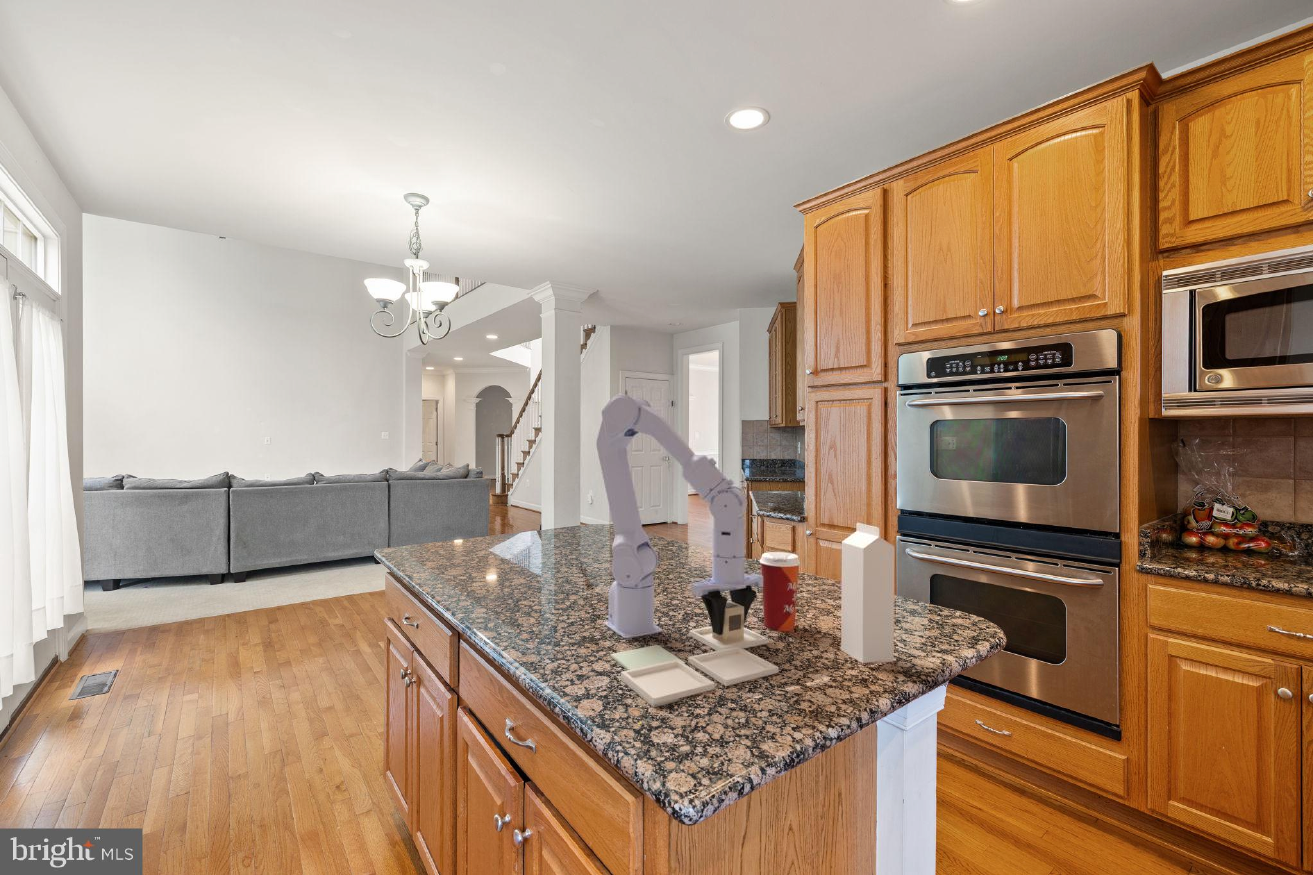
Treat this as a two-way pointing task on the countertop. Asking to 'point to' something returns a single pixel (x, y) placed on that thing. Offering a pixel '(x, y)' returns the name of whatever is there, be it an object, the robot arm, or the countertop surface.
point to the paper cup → (779, 589)
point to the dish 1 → (666, 682)
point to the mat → (643, 657)
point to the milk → (867, 596)
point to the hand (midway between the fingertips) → (727, 631)
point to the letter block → (732, 624)
